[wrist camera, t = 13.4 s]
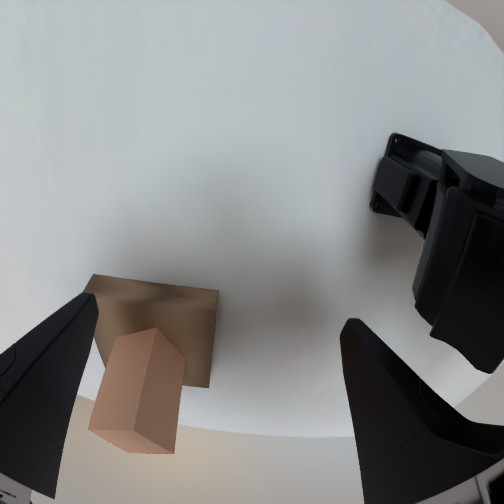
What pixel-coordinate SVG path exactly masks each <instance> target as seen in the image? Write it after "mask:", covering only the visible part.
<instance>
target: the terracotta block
mask: <svg viewBox="0 0 504 504" xmlns="http://www.w3.org/2000/svg"><path fill="white" fill-rule="evenodd" d="M185 360H186V359H185V358H184V357H183V356H182V355H181V354H180V353H179V352H178V350H177V349H176V348H175V347H174V346H173V345H172V344H171V343H170V341H169V340H168V339H167V338H166V337H165V336H164V334H163V333H162V332H161V331H160V330H159V329H158V327H156V328H152V329H148V330H144V331H140V332H136V333H132V334H128V335H124V336H120V337H116V340H115V343H114V346H113V348H112V351H111V354H110V357H109V360H108V363H107V366H106V369H105V372H104V375H103V378H102V381H101V385H100V388H99V391H98V394H97V398H96V401H95V405H94V408H93V412H92V416H91V419H90V423H89V426H88V429H89V430H90V431H92V432H94V433H95V434H97V435H98V436H100V437H101V438H103V439H105V440H106V441H108V442H110V443H112V444H113V445H115V446H117V447H119V448H121V449H122V450H124V451H126V452H129V453H146V454H174V450H175V440H176V430H177V422H178V414H179V405H180V397H181V390H182V382H183V375H184V367H185Z"/></svg>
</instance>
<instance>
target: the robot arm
mask: <svg viewBox="0 0 504 504" xmlns="http://www.w3.org/2000/svg"><path fill="white" fill-rule="evenodd" d="M397 137H398V142H395V139H396V138H397ZM374 187H375V191H374V194H373V197H372V200H371V203H370V207H371V209H372V210H373V211H374V212H376V213H381V214H386V215H391V216H396V217H400V218H404V219H405V220H406V221H407V222H408V223H409V224H410V225H411V226H412V227H413V228H414V229H415V230H416V232H417V233H418V234H419V235H420V236H421V237H422V238H423V239H424V240H425V243H424V247H423V251H422V254H421V258H420V261H419V264H418V267H417V272H416V275H415V278H414V282H413V287H412V290H413V294H414V298H415V301H416V303H415V308H416V310H417V311H418V312H419V314H420V315H421V316H422V318H423V319H425V320H426V321H427V322H428V323H429V324H430V325H431V326H432V330H431V332H430V336H431V337H433V338H435V339H438V340H441V341H443V342H446V343H447V344H449V345H450V346H452V347H454V348H455V349H457V350H458V351H459V352H460V353H461V354H462V355H463V356H464V357H465V358H466V359H467V360H468V361H469V362H470V363H471V364H472V365H473V366H474V367H475V368H476V369H477V370H480V371H482V372H485V373H488V374H492V373H493V372H494V371H495V370H496V369H497V367H498V366H499V365H500V364H501V362H502V361H503V359H504V163H503V162H501V161H499V160H497V159H494V158H492V157H490V156H485V155H479V154H473V153H467V152H460V151H453V150H446V149H442V150H440V149H438V148H435V147H433V146H430V145H428V144H425V143H423V142H420V141H418V140H415V139H412V138H410V137H407V136H404V135H401V134H399V133H393V134H392V135H391V137H390V140H389V143H388V147H387V151H386V154H385V156H384V157H383V159H382V162H381V166H380V169H379V173H378V176H377V179H376V182H375V186H374ZM376 204H378V207H375V205H376ZM98 316H99V309H98V305H97V301H96V297H95V295H94V293H91V292H82V293H81V294H79V295H78V296H76V297H75V298H74V299H72V300H71V301H69V302H68V303H67V304H65V305H64V306H63V307H61V308H60V309H59V310H57V311H56V312H54V313H53V314H52V315H50V316H49V317H48V318H46V319H45V320H44V321H42V322H41V323H40V324H39V325H37V326H36V327H35V328H33V329H32V330H31V331H29V332H28V333H27V334H26V335H24V336H23V337H22V338H21V339H19V340H18V341H17V342H16V343H14V344H13V345H12V346H10V347H9V348H8V349H7V350H5V351H4V352H3V353H2V354H0V504H32V502H31V500H30V497H31V492H32V490H34V491H36V492H38V493H41V494H43V495H45V496H48V497H50V498H52V499H55V493H56V486H57V480H58V474H59V468H60V463H61V458H62V452H63V451H62V450H63V447H64V442H65V438H66V434H67V429H68V425H69V421H70V417H71V413H72V409H73V406H74V402H75V399H76V395H77V392H78V388H79V385H80V382H81V378H82V375H83V372H84V369H85V366H86V363H87V360H88V357H89V353H90V350H91V346H92V341H93V337H94V333H95V328H96V324H97V320H98ZM340 346H341V356H342V366H343V375H344V380H345V385H346V390H347V395H348V401H349V406H350V411H351V417H352V422H353V428H354V434H355V440H356V446H357V452H358V458H359V465H360V471H361V480H362V488H363V496H364V504H504V426H501V425H491V424H483V423H476V422H472V421H470V420H468V419H466V418H465V417H463V416H462V415H461V414H460V413H459V412H457V411H456V410H455V409H454V408H453V407H452V406H450V405H449V404H448V403H447V402H446V401H444V400H443V399H442V398H441V397H440V396H439V395H438V394H437V393H435V392H434V391H433V390H432V389H431V388H430V387H429V386H428V385H427V384H426V383H425V382H424V381H423V380H422V379H420V377H419V376H418V375H417V374H416V373H415V372H414V371H413V370H412V369H411V368H410V367H409V366H408V365H407V364H406V363H405V362H404V361H403V360H402V359H401V358H400V357H399V356H398V355H397V354H396V353H395V352H394V351H393V350H391V349H390V348H389V347H388V346H387V345H386V344H385V343H384V342H383V341H382V340H381V339H380V338H379V337H378V336H377V335H376V334H375V333H374V332H373V331H372V330H371V329H370V328H369V327H368V326H367V325H366V324H365V323H364V322H362V321H361V320H360V319H358V318H349V319H348V320H347V321H346V323H345V325H344V327H343V329H342V331H341V334H340Z"/></svg>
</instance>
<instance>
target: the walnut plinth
mask: <svg viewBox="0 0 504 504" xmlns="http://www.w3.org/2000/svg"><path fill="white" fill-rule="evenodd" d="M83 292H91V293H94V295H95V297H96V301H97V305H98V309H99V316H98V320H97V324H96V328H95V333H94V339H95V342H96V344H97V347H98V350H99V353H100V356H101V358H102V361H103V364H104V366H105V369H106V366H107V363H108V360H109V357H110V354H111V351H112V348H113V346H114V343H115V340H116V337H120V336H124V335H128V334H132V333H136V332H140V331H144V330H148V329H152V328H156V327H158V329H159V330H160V331H161V332H162V333H163V334H164V336H165V337H166V338H167V339H168V340H169V341H170V343H171V344H172V345H173V346H174V347H175V348H176V349H177V350H178V352H179V353H180V354H181V355H182V356H183V357H184V358H185V359H186V360H185V367H184V375H183V382H182V385H185V386H193V387H202V388H209V383H210V372H211V361H212V350H213V340H214V331H215V321H216V311H217V299H218V291H216V290H207V289H198V288H190V287H182V286H174V285H166V284H158V283H151V282H143V281H136V280H129V279H122V278H115V277H109V276H102V275H96V274H93V276H92V277H91V279H90V281H89V282H88V284H87V286H86V287H85V289H84V291H83Z"/></svg>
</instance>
